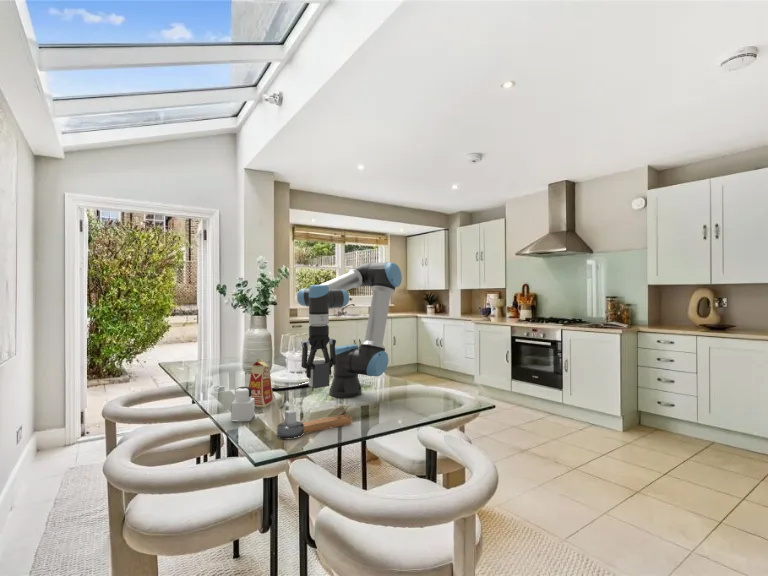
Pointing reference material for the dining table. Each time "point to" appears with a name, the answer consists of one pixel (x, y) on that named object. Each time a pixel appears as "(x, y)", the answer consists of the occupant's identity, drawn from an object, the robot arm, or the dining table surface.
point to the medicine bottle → (242, 405)
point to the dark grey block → (320, 373)
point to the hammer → (308, 424)
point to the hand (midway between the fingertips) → (319, 384)
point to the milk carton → (261, 384)
